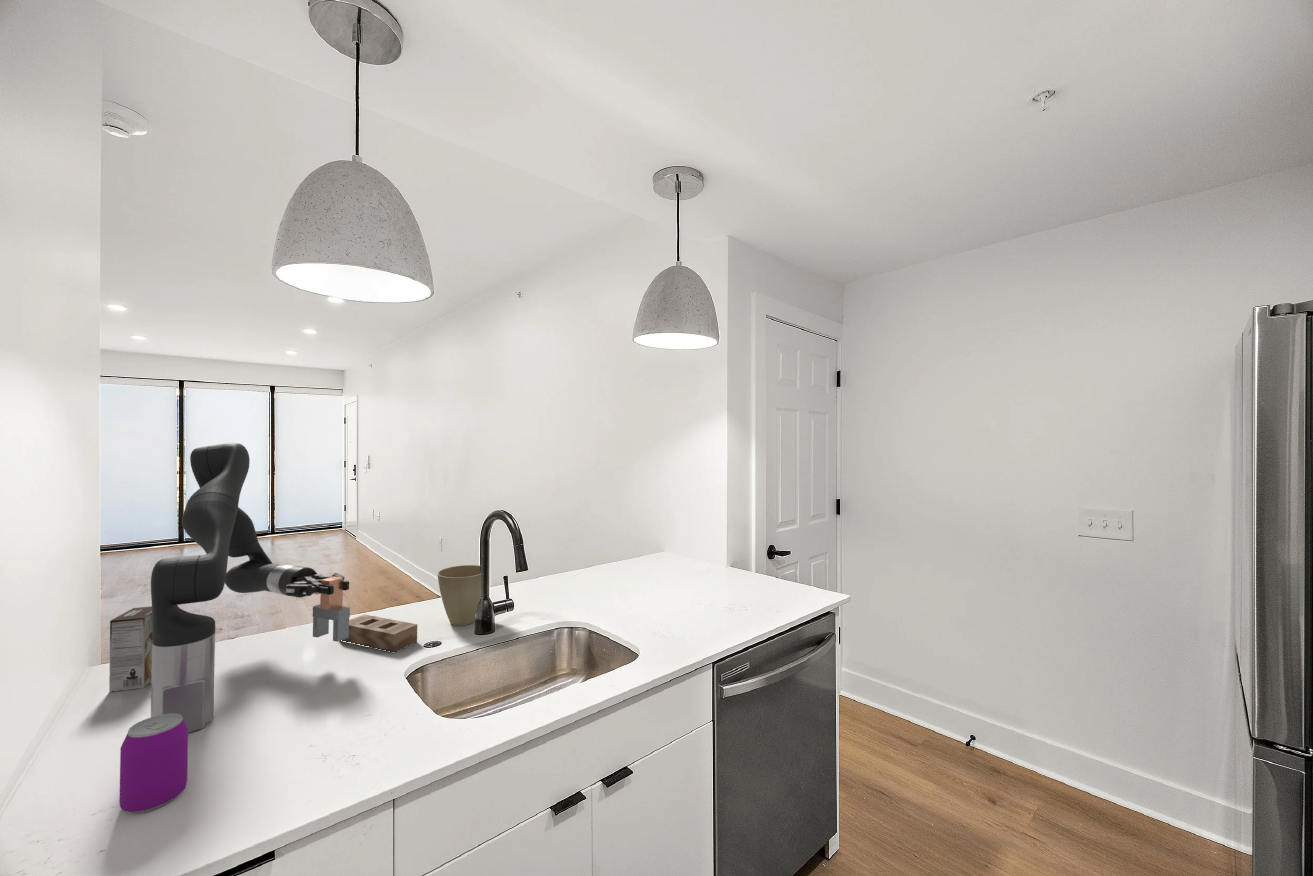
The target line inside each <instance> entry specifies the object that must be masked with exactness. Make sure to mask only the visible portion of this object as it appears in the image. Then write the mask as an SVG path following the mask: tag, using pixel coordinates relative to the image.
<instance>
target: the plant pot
mask: <svg viewBox="0 0 1313 876" xmlns="http://www.w3.org/2000/svg"><path fill="white" fill-rule="evenodd" d="M480 566H481V565H478V564H477V565H476V564H462V565H461V564H459V565H455V566H449V567H444V568H442V569H441V570H439V571H437V574H436V575H437V580H438V589H439V593H440V596H441V600H442V603H443V608H444V610H445V614H446V616H447V619H448V621H449V624H451V625H452V626H457V627H458V626H459V627H460V626H466V625H467V626H468V625H470V624H473V623H474V622H475V621H476V619H475V614H476V608H477V605H478V603H479V601H480V598H481V571H480Z"/></svg>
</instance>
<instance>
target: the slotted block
mask: <svg viewBox="0 0 1313 876" xmlns="http://www.w3.org/2000/svg"><path fill="white" fill-rule="evenodd" d="M342 641H346V642H351V643H355V644H360V645H364V646H369V647H372V648H377V649H381V650H380V651H382V650H386V651H390V652H389V653H391V652H395V653H397V652H399V651H401V650H403V649H406V648H407V647H406V646H408V647H409V645H410V646H412V645H414V644H416V643H418V624H416V623H412V622H408V621H407V622H406V621H401V620H396V619H392V618H386V617H382V616H381V617H380V616H374V615H369V614H362V615H359V616H357V617H353V618H351V619H350V618H349V638H346V639H344V640H342ZM411 644H412V645H411ZM405 647H406V648H405ZM372 648H371V649H372ZM377 649H376V650H377ZM400 649H401V650H400ZM398 650H399V651H398ZM386 651H385V652H386ZM396 651H397V652H396Z"/></svg>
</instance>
